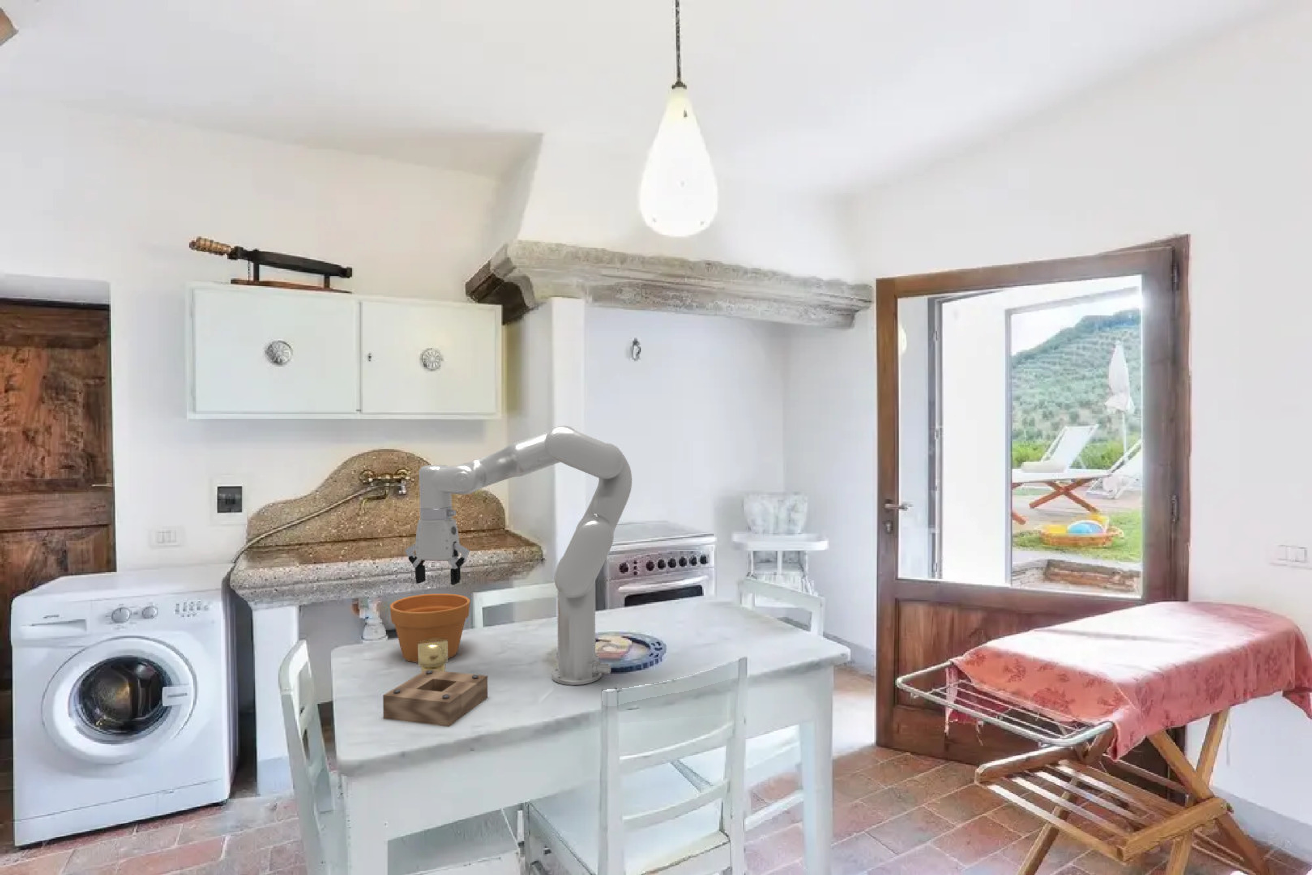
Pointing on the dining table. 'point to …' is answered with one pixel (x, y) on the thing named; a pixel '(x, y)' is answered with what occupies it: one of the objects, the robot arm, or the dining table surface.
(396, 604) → the flower pot
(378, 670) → the dining table surface
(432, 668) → the yellow translucent cylinder
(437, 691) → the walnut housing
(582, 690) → the dining table surface
